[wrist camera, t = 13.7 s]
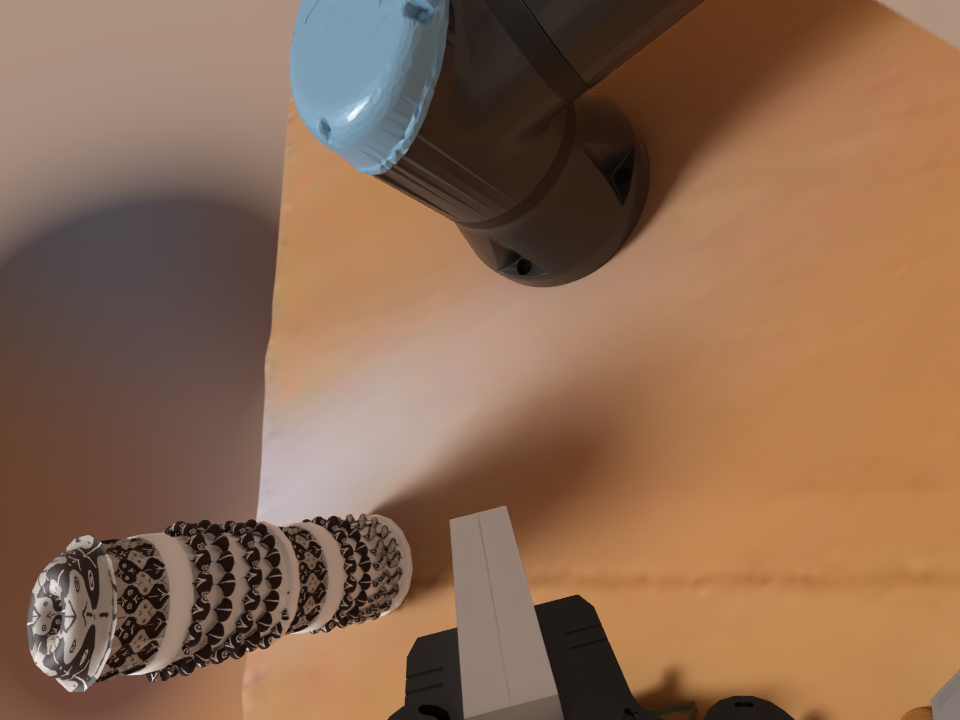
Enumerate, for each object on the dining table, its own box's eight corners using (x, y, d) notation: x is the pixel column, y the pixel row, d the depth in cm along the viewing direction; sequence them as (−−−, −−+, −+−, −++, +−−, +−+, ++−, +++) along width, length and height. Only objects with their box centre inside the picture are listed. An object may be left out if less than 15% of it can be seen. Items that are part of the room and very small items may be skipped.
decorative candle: (394, 644, 51) (53, 755, 30) (325, 587, 56) (-5, 648, 36) (431, 540, 50) (110, 582, 30) (357, 493, 56) (42, 500, 35)
